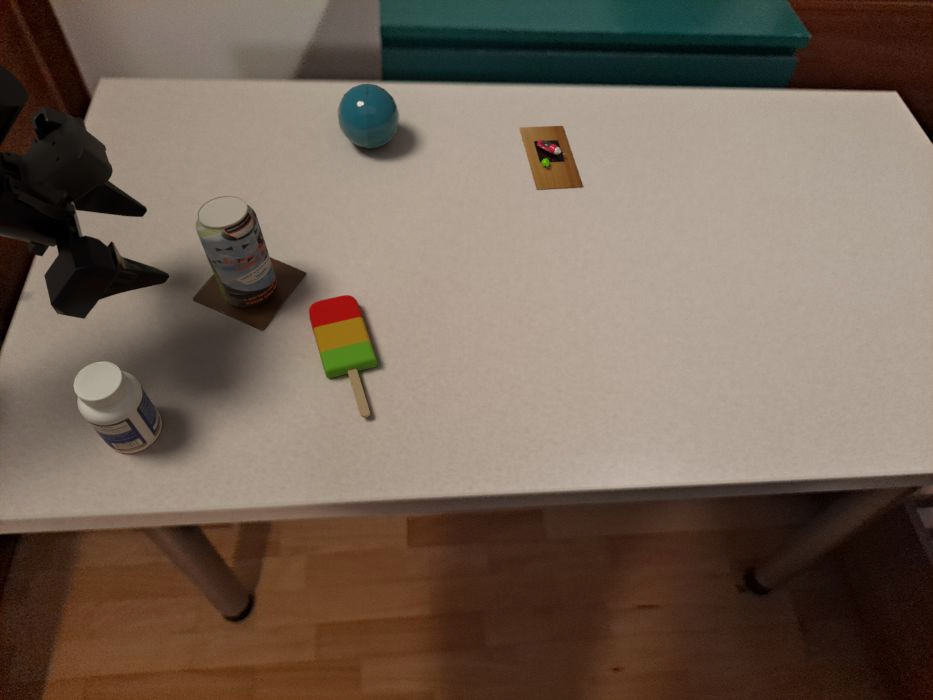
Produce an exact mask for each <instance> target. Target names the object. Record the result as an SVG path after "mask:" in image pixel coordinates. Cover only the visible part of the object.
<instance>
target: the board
mask: <svg viewBox="0 0 933 700" xmlns="http://www.w3.org/2000/svg"><path fill="white" fill-rule="evenodd" d="M519 132H520V135H521V139H522V143H523V147H524V149H525V153H526V156H527V161H528V164H529V169H530V171H531V174H532V178H533V181H534V185H535V187H536V188H535V189H536V191H539V190H541V191H542V190H558V189H575V188H576V189H577V188H578V189H579V188H583V187H584V184H583V182H582V179H581V175H580V173H579V170H578V167H577V165H576V161H575V157H574V155H573V152H572V148H571V146H570V143H569V140H568V138H567V134H566V132H565V128H564V126H563V125H548V126H545V125H544V126H521V127H520V126H519Z"/></svg>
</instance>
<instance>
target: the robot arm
mask: <svg viewBox="0 0 933 700" xmlns="http://www.w3.org/2000/svg"><path fill="white" fill-rule="evenodd" d="M28 99H29V94H28V91H27V89H26V87H25V86H24V84H23V83H22V82H21V81H20V79H19V78H18V77H17V76H16V75H15V74H14V73H12V71H11V70H9V69H7V68H6V67H5V66H3V65H2V64H0V147H1V146H2V145H3V143H4V142H5V140H6V138H7V136H8V134H9V133H10V131H11V130H12V128H13V126H14V124H15V123H16V121H17V119H18V118H19V116H20V115H21V112H22V111H23V109H24V107H25V106H26V105H27V102H28ZM30 118H31V123H32V127H33V130H34V132H35V134H36V137H35V138H31V140H30V144H31V145H30V146H29V148H28V150H27V151H26V152H25V153H24V154H17V153H15V152H11V151H8V150H3V151H0V236H1V237H4V238H9V239H13V240H17V241H21V242H24V243H27V247H28V252H29V254H30V255H34V256H39V257H43V256H44V255H45V253H46V252H47V251H48V249H49V247H51V248H54V247H56V249H57V253H58V254H57V256H56V258H55V259H54V261H52V264H51V265H50V266H49V268H48V269H47V271H46V272H45V273H44V280H45V284H46V289H47V293H48V298H49V302H50V305H51V307H52V309H53V310H54V311H55V313H56V315H61V316H67V317H71V318H77V319H83V320H84V319H86V318H87V316H88V315H89V314H90V312H91V311H92V310H93V309H94V308H95V306H96V305H97V303H98V302H99V301H101V300H103V299H106V298H109V297H112V296H115V295H120V294H123V293H127V292H131V291H137V290H142V289H144V288H151V287H153V286H158V285H163V284H165V283H166V282H168V280H169V279H170V277H171V276H170V274H169V272H166V271H165V270H162V269H160V268H158V267H154V266H152V265H149V264H146V263H142V262H139V261H136V260H133V259H130V258H127V257H125V256H122V255H121V253H120V252H119V250H118V248H117V246H116V245H115V242H113V241H110V242H109V244H108V245H106V244H105V243H104V242H103V241H102V240H100V238H97V237H93V236H89V235H83V232H82V228H81V224H80V220H79V217H78V213H77V211H78V212H79V211H80V212H87V213H97V214H104V215H110V216H112V215H113V216H121V217H130V218H131V217H134V218H143V217H145V215H146V213H147V212H148V208H147V206H145V205H144V204H142V203H141V202H139V201H138V200H137V199H135V198H134V197H133V196H131V195H130V194H128V193H127V192H125V191H124V190H122V189H121V188H119V186H117V185H115V184H113V183H112V181H110V179H111V178H112V177H113V176H112V175H113V171H114V170H113V166H112V164H111V163H110V161H109V158H108V157H109V156H108V154H107V152H106V151H107V146H106V145H105V144H104V143H103V142H102V141H101V140H99V139H98V138H97V137H96V136H94V135H93V134H92V133H90V132H89V131H88V130H87V125H86V122H85V120H84V119H83V118H82V117H79V116H77V117H74V116H72V115H71V114H70V113H68V114H67V113H66V112H62V111H59V110H56V109H53V108H50V107H46V106H42V107H41V108H40V109H37V110H36V111H35V112H34V113H32V114H31V115H30Z"/></svg>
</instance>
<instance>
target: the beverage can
mask: <svg viewBox="0 0 933 700" xmlns="http://www.w3.org/2000/svg"><path fill="white" fill-rule="evenodd" d="M195 231H196V234H197V236H198V239H199V240H200V243H201V246H202V249H203V251H204V253H205V256H206V258H207V260H208V262H209V265H210V268H211V270H212V272H213V274H214V275H215V278H216V280H217V282H218V285H219V287H220V290H221V292H222V295H223V297H224V299H225V300H226V301H227V302H228V303H230V304H232V305H234V306H238V307H251V306H255V305H258V304H261V303H263V302H265V301H266V300H268V299H269V298H270V297H271V296H272V295H273V294H274V293H275V291H276V289H277V278H276V275H275V272H274V269H273V266H272V263H271V260H270V257H271V256H270V253H269V250H268V247H267V243H266V240H265V238H264V234H263V231H262V228H261V225H260V222H259V219H258V216H257V213H256V211H255V210H254V208H253V207H251V206H250V204H249V205H248V203H247V202H246V201H245V200H244V199H243V198H241V197H238V196H235V195H220V196H216V197H214V198H210V199H209V200H207V201H205V202H204V203H203V204H202V205H201V206H199V208H198V210H197V213H196V221H195Z"/></svg>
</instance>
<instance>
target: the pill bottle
mask: <svg viewBox="0 0 933 700" xmlns="http://www.w3.org/2000/svg"><path fill="white" fill-rule="evenodd" d="M73 390H74V393H75V394H76V396H77V400H76V402H77V408H78V411H79V413H80V415H81V416H82V417H83V418H84V419H85V420H86V422H87V423H88V424H89V426H90V427H92V429H93V430H94V431H95V432H96V433H97V434H98V436H99V437H100V438H101V439H102V440H103V441H104V443H105V444H106V445H108V446H109V448H111V449H112V450H113V451H115V452H118V453H122V454H133V453H138V452H141V451H143V450H145V449H147V448H148V447H150V446H151V445H153V443H154V442H155V441H156V440H157V439H158V437H159V435H160V434H161V431H162V427H163V420H162V416H161V414H160V413H159V411H158V409H157V407H156V406H155V405H154V403H153V402H152V401H151V398H150V397H149V395H148V394H147V392H146V390H145V389H144V388H143V386H142V385H141V383H140V382H139V380H138V379H137V378H136V377H135V376H134V375H133V374H130V373H129V372H127V371H124V370H121V368H120V367H119V366H118V365H117V364H115V363H113V362H111V361H96V362H93V363H92V362H91V363H89V364H88V365H86V366H84V367H83V368H82V369H81V370H79V372H78V373H77V374H76V376H75V378H74V381H73Z"/></svg>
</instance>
